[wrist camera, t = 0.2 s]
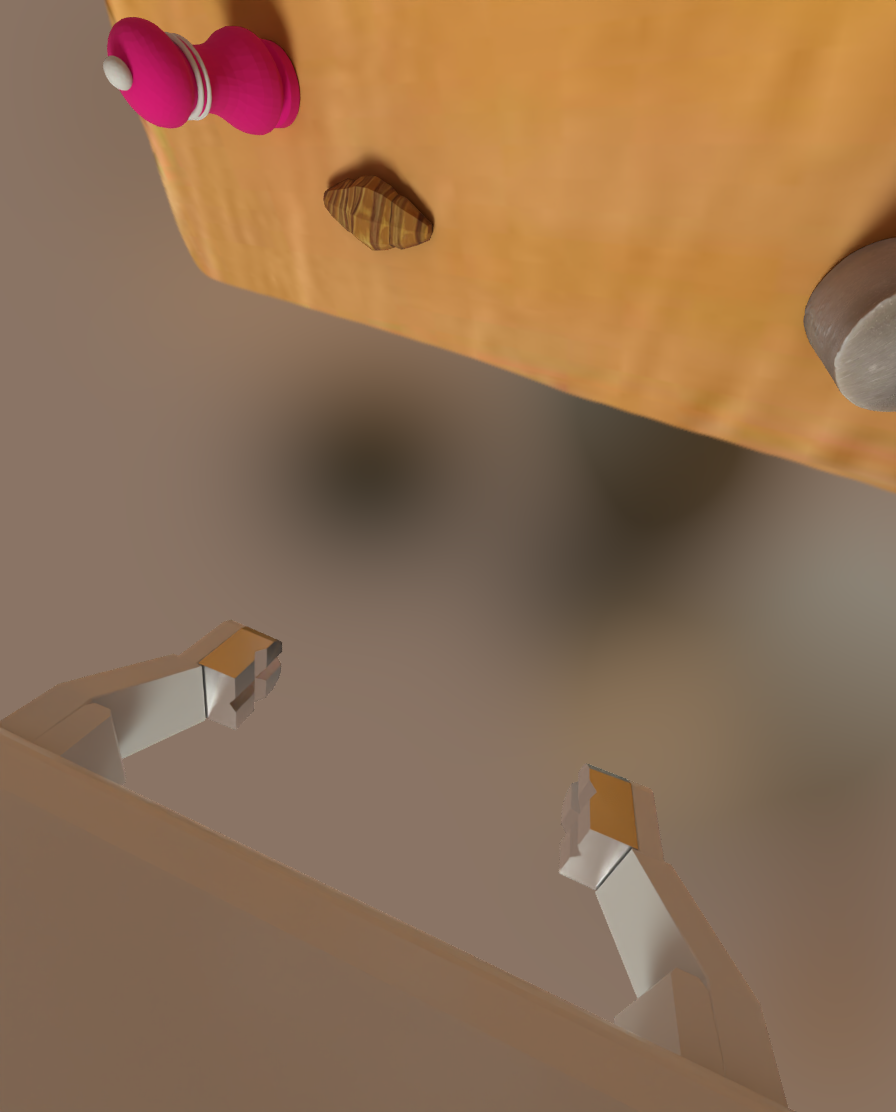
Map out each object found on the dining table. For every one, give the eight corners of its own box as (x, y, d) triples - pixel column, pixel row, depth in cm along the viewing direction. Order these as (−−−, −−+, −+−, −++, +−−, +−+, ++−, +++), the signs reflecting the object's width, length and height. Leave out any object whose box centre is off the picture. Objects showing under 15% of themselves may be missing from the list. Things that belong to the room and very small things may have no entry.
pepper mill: (232, 72, 46) (52, 53, 33) (268, 9, 41) (76, -42, 28) (279, 151, 49) (132, 162, 36) (317, 99, 45) (165, 92, 32)
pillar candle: (931, 336, 40) (1014, 403, 30) (798, 366, 45) (831, 432, 35) (959, 212, 35) (1071, 244, 25) (804, 262, 40) (846, 305, 30)
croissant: (441, 191, 46) (422, 197, 43) (431, 263, 51) (414, 273, 48) (330, 156, 48) (304, 159, 45) (331, 230, 53) (308, 237, 50)
